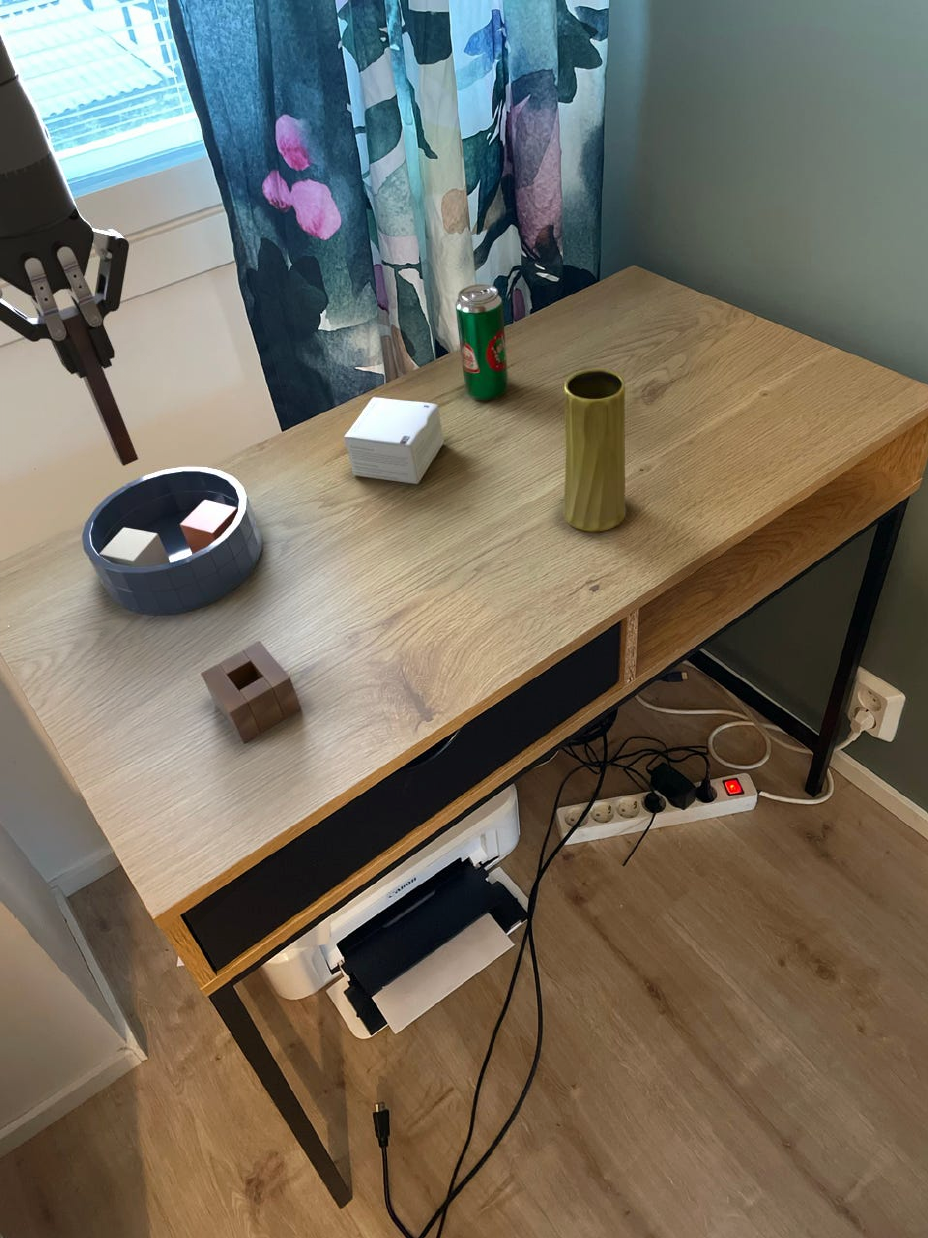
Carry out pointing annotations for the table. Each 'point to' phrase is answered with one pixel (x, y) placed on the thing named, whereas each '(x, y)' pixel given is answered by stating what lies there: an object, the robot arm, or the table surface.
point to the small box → (394, 440)
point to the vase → (595, 450)
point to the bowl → (174, 541)
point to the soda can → (482, 341)
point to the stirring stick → (99, 387)
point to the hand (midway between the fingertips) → (92, 368)
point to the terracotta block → (207, 524)
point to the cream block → (135, 549)
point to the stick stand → (251, 691)
